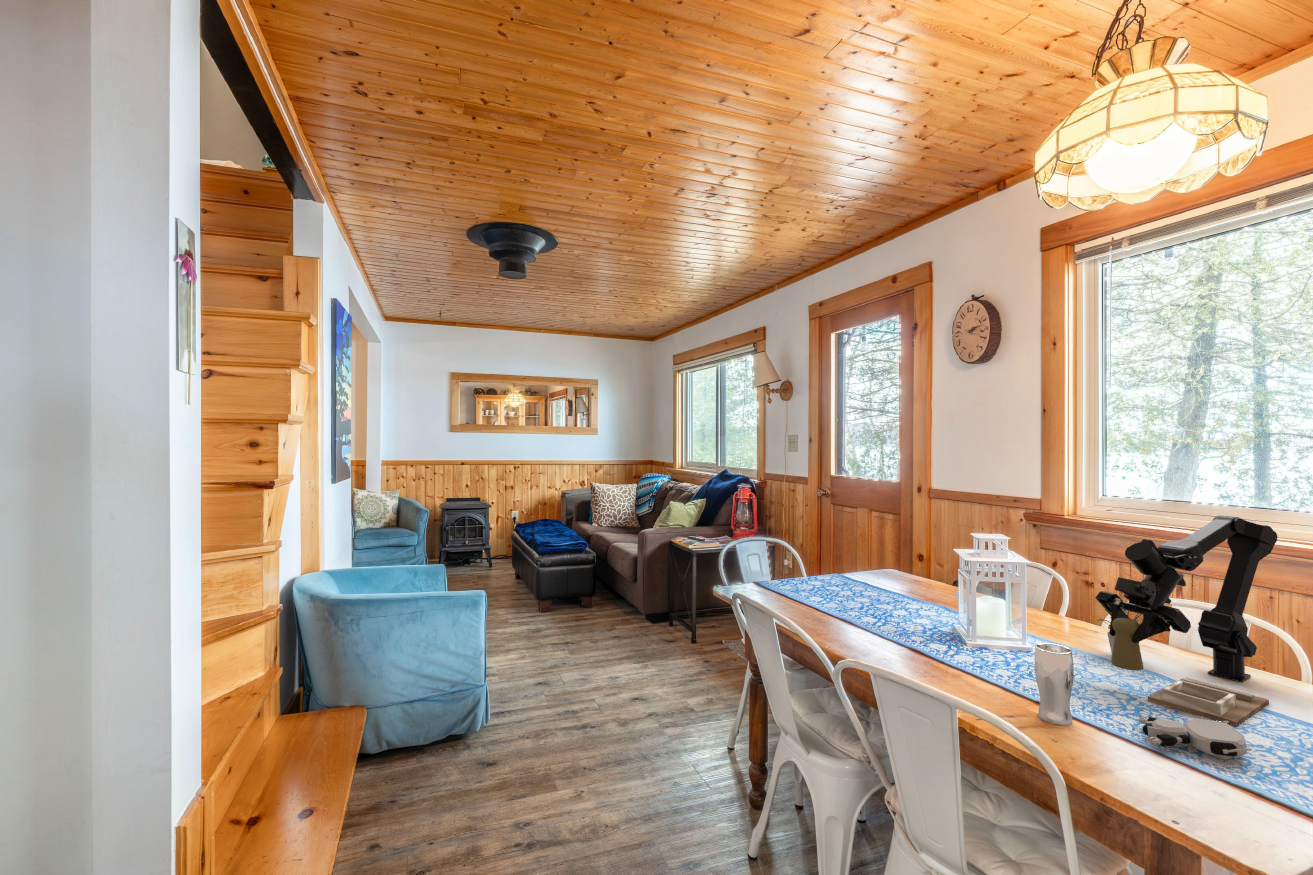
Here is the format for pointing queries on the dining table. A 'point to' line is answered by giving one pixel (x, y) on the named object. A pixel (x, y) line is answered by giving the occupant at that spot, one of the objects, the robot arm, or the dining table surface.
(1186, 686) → the assembly jig
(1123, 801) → the dining table surface
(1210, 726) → the robot toy
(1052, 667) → the beer glass
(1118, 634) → the cork
